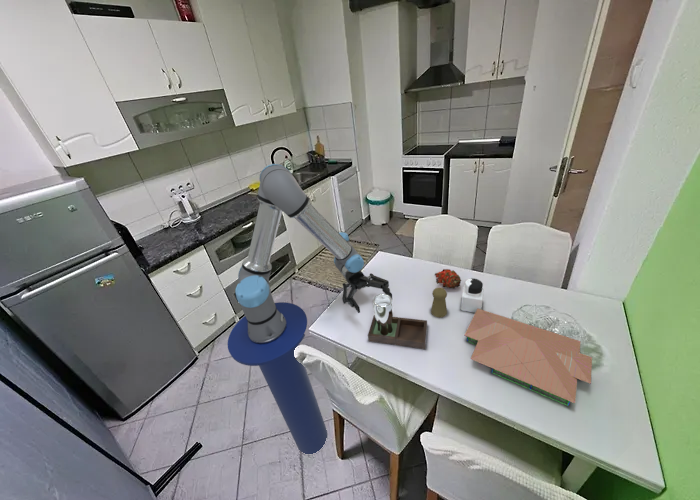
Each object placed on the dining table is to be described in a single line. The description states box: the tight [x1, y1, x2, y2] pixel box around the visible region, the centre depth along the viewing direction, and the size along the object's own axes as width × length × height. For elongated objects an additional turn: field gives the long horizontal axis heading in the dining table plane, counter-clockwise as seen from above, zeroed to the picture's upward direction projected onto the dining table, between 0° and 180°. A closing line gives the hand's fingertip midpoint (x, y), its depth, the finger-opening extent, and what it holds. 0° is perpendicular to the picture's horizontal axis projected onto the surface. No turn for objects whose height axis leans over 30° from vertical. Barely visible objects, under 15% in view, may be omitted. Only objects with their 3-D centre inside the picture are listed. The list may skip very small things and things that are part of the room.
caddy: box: [367, 314, 428, 350], centre depth 101 cm, size 20×10×3 cm, turn 73°
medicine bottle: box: [460, 277, 485, 314], centre depth 105 cm, size 7×7×12 cm
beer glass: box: [372, 293, 394, 336], centre depth 99 cm, size 7×7×15 cm
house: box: [464, 308, 593, 407], centre depth 85 cm, size 23×33×8 cm
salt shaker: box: [430, 286, 448, 319], centre depth 105 cm, size 6×6×11 cm
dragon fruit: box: [434, 268, 462, 289], centre depth 119 cm, size 8×8×12 cm
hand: (375, 303), depth 103 cm, fingers open, 13 cm apart
